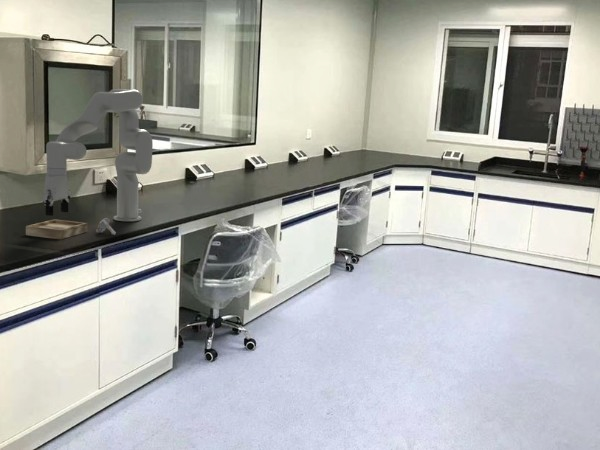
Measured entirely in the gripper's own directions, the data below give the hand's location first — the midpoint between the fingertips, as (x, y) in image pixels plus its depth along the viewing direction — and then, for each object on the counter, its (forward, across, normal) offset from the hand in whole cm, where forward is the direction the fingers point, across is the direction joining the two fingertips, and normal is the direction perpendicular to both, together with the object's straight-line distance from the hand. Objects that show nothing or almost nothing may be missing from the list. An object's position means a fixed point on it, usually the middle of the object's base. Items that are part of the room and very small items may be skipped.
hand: (57, 213), depth 246 cm
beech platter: (+8, 0, 0) cm, 8 cm away
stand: (+10, -9, +16) cm, 21 cm away
